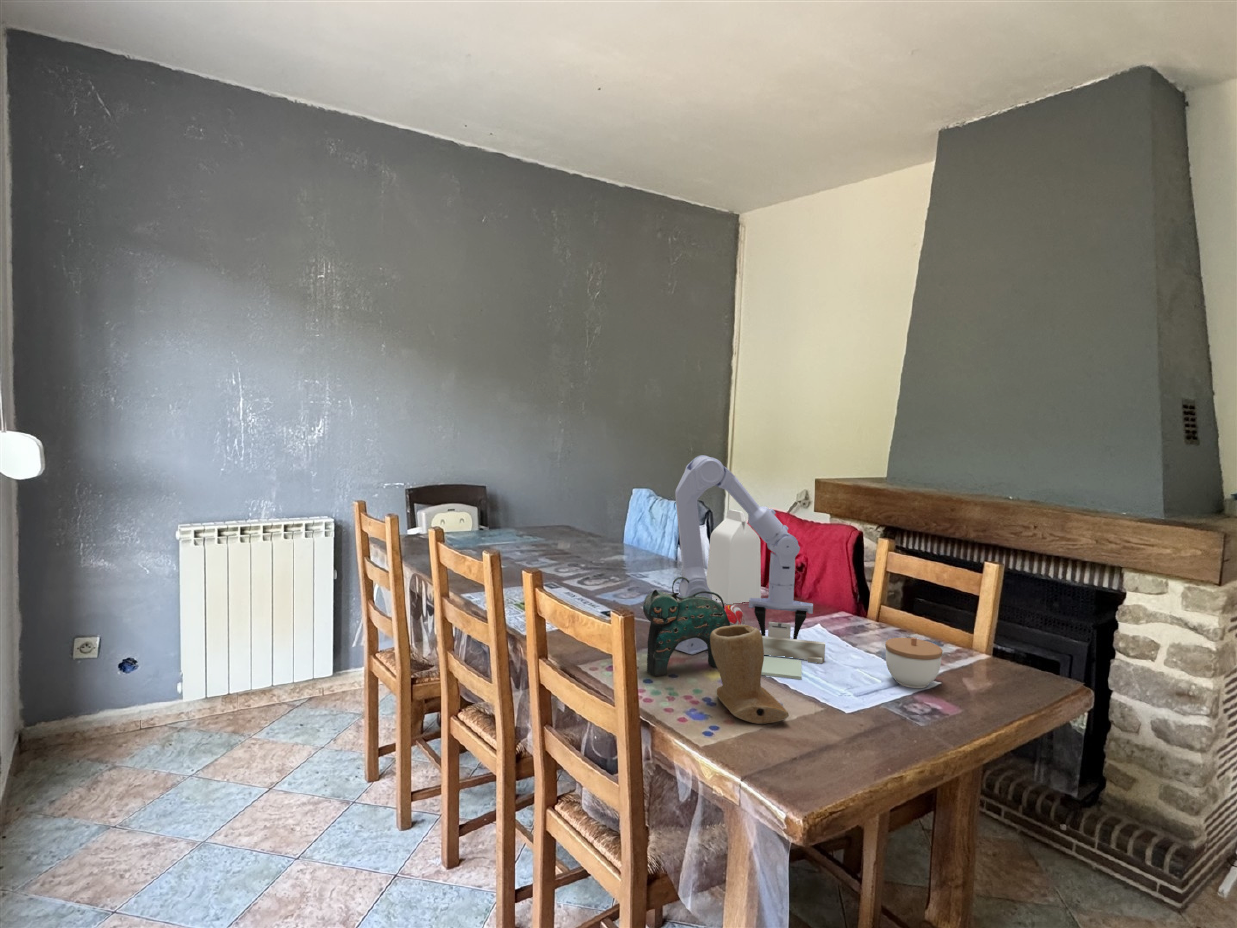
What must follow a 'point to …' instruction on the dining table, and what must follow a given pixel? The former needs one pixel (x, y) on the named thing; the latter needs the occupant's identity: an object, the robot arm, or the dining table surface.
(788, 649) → the beige wooden bar
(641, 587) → the dining table surface
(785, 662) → the pad
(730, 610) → the soda can
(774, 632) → the marked cube
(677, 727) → the dining table surface
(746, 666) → the clay boot
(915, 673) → the lidded jar
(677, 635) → the ceramic cat
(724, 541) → the milk
